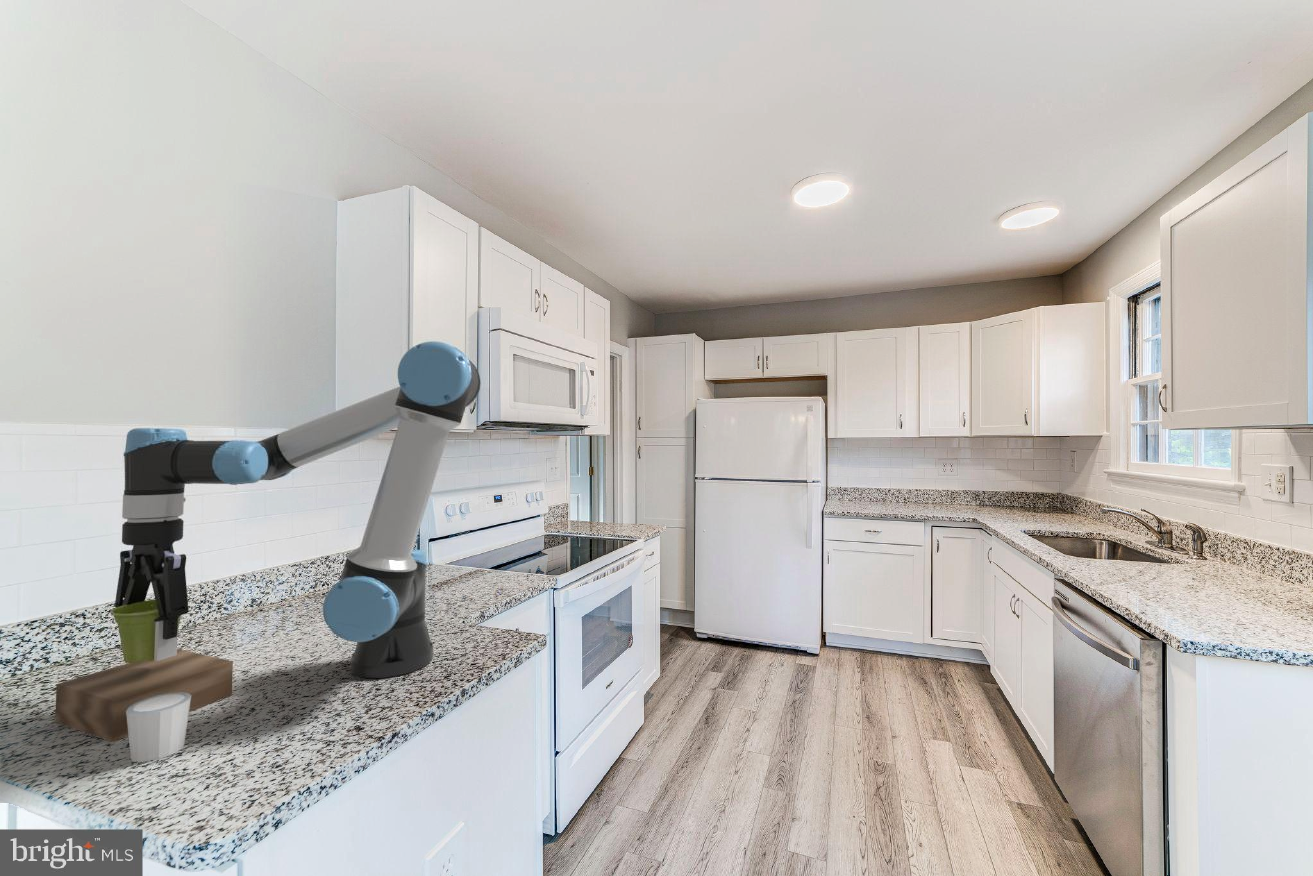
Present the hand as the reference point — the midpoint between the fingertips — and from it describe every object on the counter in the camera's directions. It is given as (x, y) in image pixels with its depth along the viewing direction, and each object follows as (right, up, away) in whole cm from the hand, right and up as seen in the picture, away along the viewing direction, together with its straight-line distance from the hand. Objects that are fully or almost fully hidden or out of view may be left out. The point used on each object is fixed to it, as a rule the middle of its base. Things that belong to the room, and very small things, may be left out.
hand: (149, 653), depth 89 cm
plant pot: (0, -1, 0) cm, 1 cm away
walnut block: (0, -9, 0) cm, 9 cm away
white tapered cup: (+14, -9, -13) cm, 21 cm away
